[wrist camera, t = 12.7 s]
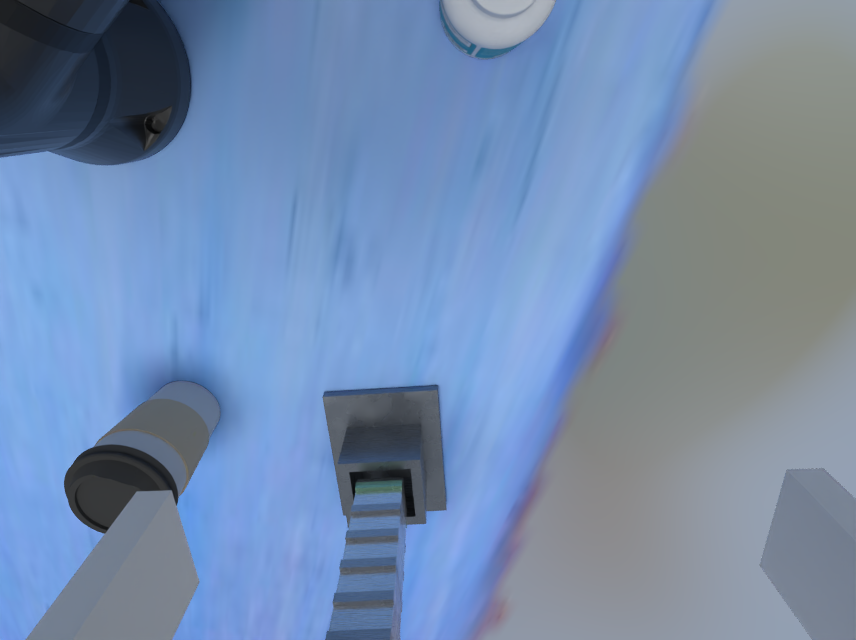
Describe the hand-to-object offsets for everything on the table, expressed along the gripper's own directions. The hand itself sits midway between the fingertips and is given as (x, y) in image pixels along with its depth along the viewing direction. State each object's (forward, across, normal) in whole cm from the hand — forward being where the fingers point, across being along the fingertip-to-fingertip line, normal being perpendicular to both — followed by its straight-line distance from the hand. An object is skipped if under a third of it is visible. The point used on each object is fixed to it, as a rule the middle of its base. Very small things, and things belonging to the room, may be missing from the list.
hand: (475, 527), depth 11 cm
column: (+31, -7, -27) cm, 42 cm away
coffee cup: (+39, -28, -21) cm, 52 cm away
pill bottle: (+39, +4, +15) cm, 42 cm away
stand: (+39, -7, -27) cm, 48 cm away
